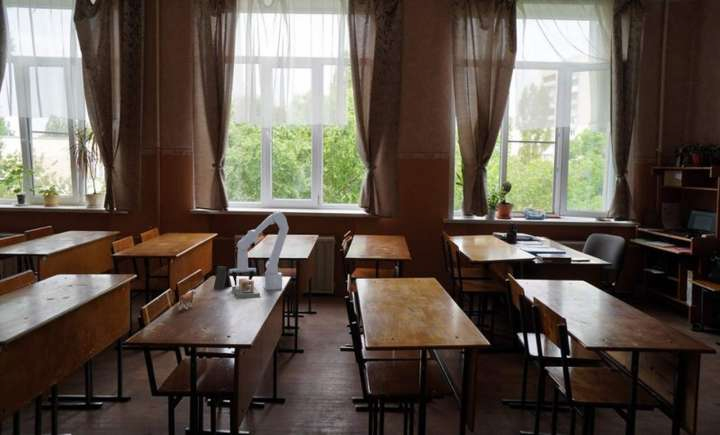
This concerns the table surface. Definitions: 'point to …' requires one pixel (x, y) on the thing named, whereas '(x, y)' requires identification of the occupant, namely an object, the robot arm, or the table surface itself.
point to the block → (244, 284)
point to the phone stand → (222, 278)
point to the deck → (245, 292)
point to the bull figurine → (187, 299)
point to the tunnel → (246, 282)
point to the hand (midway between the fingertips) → (242, 284)
